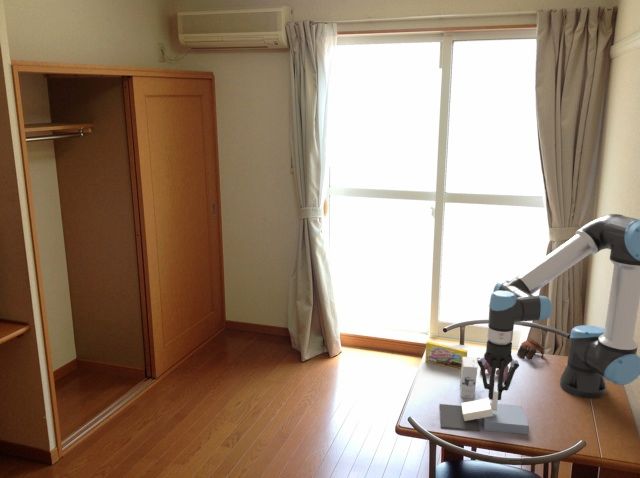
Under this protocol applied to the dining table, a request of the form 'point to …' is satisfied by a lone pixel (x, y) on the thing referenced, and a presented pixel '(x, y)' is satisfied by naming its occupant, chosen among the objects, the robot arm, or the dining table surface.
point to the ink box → (468, 377)
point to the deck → (507, 419)
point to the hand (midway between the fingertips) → (493, 408)
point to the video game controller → (496, 371)
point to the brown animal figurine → (529, 349)
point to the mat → (456, 419)
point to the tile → (476, 409)
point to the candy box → (444, 355)
